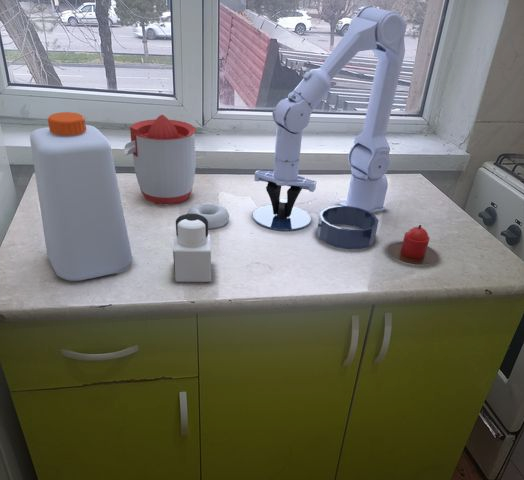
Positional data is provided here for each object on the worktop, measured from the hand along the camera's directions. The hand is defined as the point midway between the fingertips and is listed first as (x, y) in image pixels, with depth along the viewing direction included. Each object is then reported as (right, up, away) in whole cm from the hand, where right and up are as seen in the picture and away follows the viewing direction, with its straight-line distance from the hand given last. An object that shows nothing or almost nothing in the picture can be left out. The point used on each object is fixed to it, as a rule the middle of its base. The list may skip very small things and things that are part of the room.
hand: (282, 214), depth 125 cm
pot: (+15, -7, -4) cm, 17 cm away
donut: (-18, -3, -2) cm, 18 cm away
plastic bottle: (-40, -15, -20) cm, 47 cm away
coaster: (+29, -11, -9) cm, 33 cm away
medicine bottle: (-19, -18, -21) cm, 33 cm away
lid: (0, -1, +1) cm, 1 cm away
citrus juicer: (-30, +6, +8) cm, 32 cm away
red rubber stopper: (+29, -11, -9) cm, 33 cm away
